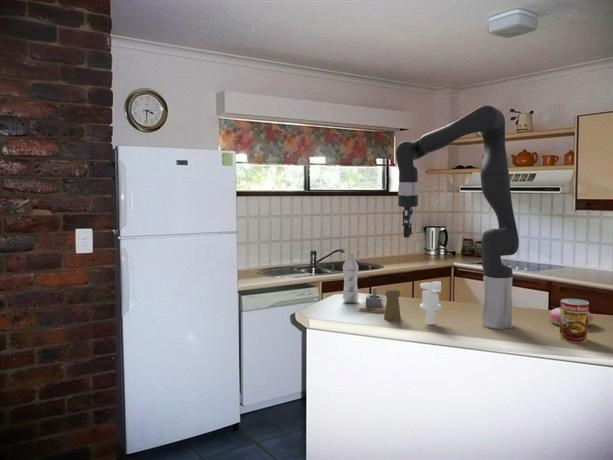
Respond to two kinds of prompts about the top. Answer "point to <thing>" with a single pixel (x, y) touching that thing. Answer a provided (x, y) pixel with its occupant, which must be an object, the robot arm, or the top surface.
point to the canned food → (574, 320)
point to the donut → (555, 316)
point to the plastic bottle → (350, 279)
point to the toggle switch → (372, 309)
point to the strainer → (430, 300)
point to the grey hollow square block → (374, 301)
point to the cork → (392, 305)
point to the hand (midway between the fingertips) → (407, 236)
